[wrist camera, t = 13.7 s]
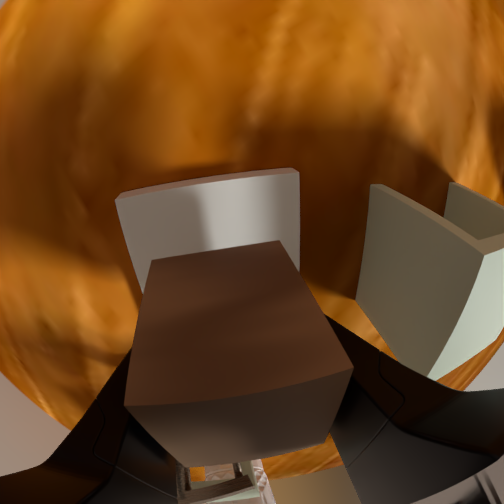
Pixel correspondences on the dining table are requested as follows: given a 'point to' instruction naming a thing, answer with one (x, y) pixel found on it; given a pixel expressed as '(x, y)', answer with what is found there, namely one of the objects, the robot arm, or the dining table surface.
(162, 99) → the dining table surface
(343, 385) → the walnut block
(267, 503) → the white cup
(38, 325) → the dining table surface
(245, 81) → the dining table surface
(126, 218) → the grey ceramic tile
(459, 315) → the green cover right
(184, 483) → the bronze balance
